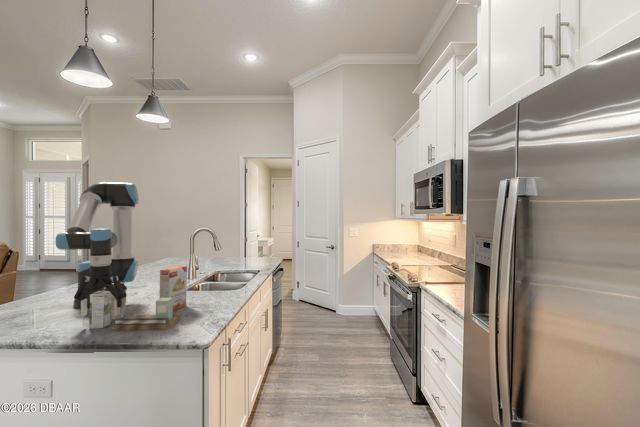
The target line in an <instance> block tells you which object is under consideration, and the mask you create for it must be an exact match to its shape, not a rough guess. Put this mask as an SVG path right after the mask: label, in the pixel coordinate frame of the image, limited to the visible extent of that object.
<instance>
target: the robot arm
mask: <svg viewBox="0 0 640 427" xmlns="http://www.w3.org/2000/svg"><path fill="white" fill-rule="evenodd" d="M104 204H105V205H109V207H110V209H112V212H113V216H112V217H113V220H112V222H113V224H112V226H113V227H112V229H111V228H92V229H91V230H90V227H91V225H92V222H93V220H94V217H95V215H96V213H97V210H98V208H100V207H101V206H102V205H104ZM138 204H139V193H138V189H137V186H136V184H135V183H134V182H126V181H125V182H118V181H117V182H115V181H113V182H111V181H108V182H107V181H100V182H96V183H94V184H92V185H90V186H88V187H86V189H85V190H83V192H82V193H81V195H80V197H79V205H78V207H77V209H76V211H75V213H74V214H73V217H72V218H71V222H70V223H69V225H68V227H67V229H66V231H63V232H59V233H57V234H56V236H55V240H54V241H55V247H56V249H57V250H61V251H64V250H65V251H67V250H68V251H73V250H74V251H76V250H77V251H78V250H89V251H90V252H89V253H90V254H89V260H86V261H83V262H80V263H79V264H78V266H77V291H76V293H75V294H74V296H73V298H74V300H73V304H72V305H73V308H75V309H80V317H84V316H86V315H87V314H88V309H90V294H93V293H95V292H98V291H104V290H105V288H107V289H108V290H109V291H110V292H111V294H112V295H113V296H114V297H115V298H116V300H114V316H117V315H119V314H120V307H121V306H122V298H125V297H126V298H127V297H128V296H127V295H126V294H127V292H126V293H125V291H124V289H123V287H122V285H121V283H124V284H125V283H131V282H133V281H134V280H135V278H136V276H137V271H138V260H136V259H135V256H134V255H133V254H132V237H133V236H132V233H133V232H132V229H133V228H132V227H133V225H132V222H133V220H132V219H133V218H132V217H133V216H132V215H133V210H134V209H135V208H136V205H138ZM89 230H90V231H89ZM113 284H114V285H115V287H116V289H117V290H116V289H115V288H114V286H113Z"/></svg>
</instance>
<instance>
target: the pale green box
mask: <svg viewBox="0 0 640 427" xmlns="http://www.w3.org/2000/svg"><path fill="white" fill-rule="evenodd" d="M159 298H160V297H159ZM159 298H158V299H156V300H155V315H156V318H169V321H170V320H171V319H172V316H173V314H174V313H173V312H174V311H173V298H160V299H159Z"/></svg>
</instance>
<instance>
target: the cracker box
mask: <svg viewBox="0 0 640 427" xmlns="http://www.w3.org/2000/svg"><path fill="white" fill-rule="evenodd" d="M187 274H188V266H185V265H175V266H172V267H167V268H162V269H160V270H159V297H158V299H160V298H173V312H175V311H177V310H179V309H182V308H184V307H187V284H188V275H187Z"/></svg>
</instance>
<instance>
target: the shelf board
mask: <svg viewBox="0 0 640 427" xmlns="http://www.w3.org/2000/svg"><path fill="white" fill-rule="evenodd" d="M181 317H182V316H181V313H178V314H174V313H173V316H172V319H171V320H170V321H169V318H156V314H130V315H129V316H127V317H121V318H116V319H112V330H113V331H152V330H153V331H154V330H156V331H157V330H161V331H162V330H163V331H164V330H167V331H168V330H169V329H171V328H172V327H173V326H174V325H175V324H176V323H178V322H179V321H180V320H181Z"/></svg>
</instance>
